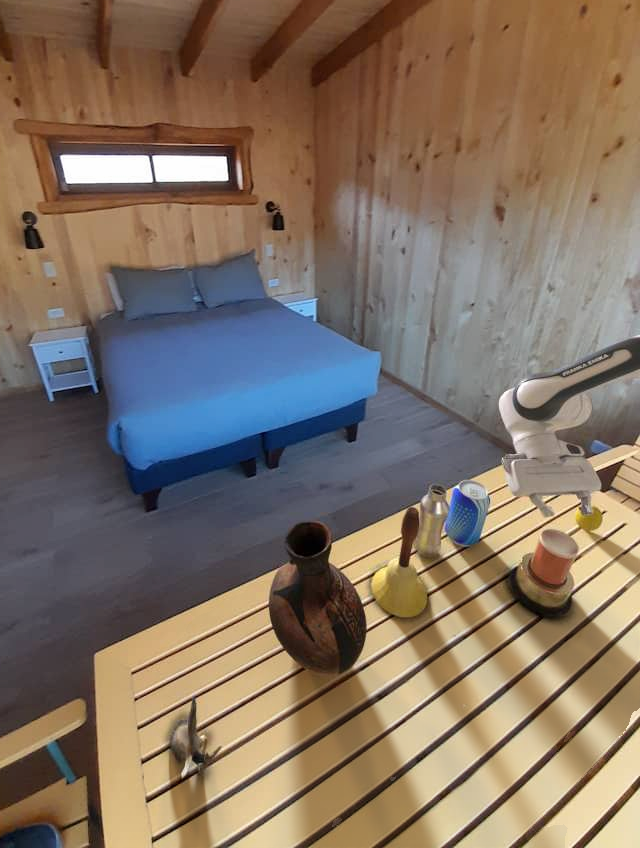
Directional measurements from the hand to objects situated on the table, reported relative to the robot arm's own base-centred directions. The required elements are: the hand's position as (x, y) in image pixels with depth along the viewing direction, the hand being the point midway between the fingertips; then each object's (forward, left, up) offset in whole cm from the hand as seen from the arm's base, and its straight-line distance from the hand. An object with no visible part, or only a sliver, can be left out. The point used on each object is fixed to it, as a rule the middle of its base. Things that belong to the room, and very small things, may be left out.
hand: (568, 515), depth 84 cm
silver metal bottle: (+26, -1, -20) cm, 33 cm away
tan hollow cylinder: (+2, +4, -20) cm, 21 cm away
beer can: (+17, -8, -20) cm, 27 cm away
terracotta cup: (+2, +4, -12) cm, 13 cm away
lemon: (-14, -19, -20) cm, 31 cm away
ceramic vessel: (+48, +28, -20) cm, 59 cm away
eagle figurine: (+64, +50, -20) cm, 84 cm away
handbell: (+32, +12, -20) cm, 40 cm away
